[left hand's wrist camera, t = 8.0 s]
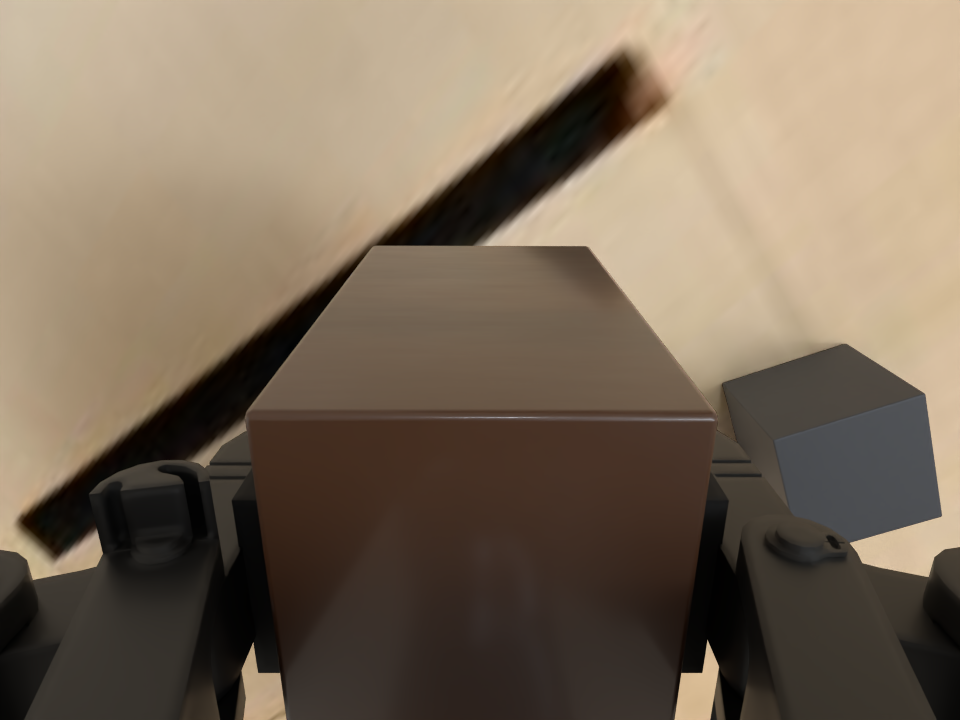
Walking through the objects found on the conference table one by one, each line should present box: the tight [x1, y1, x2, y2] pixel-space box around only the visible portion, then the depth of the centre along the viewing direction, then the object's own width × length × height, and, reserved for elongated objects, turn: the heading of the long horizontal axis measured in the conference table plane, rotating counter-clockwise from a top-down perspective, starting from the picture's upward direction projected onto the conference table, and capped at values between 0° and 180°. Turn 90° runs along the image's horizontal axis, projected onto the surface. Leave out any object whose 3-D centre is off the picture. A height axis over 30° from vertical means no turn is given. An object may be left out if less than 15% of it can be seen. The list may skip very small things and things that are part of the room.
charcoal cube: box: [723, 344, 942, 543], centre depth 25 cm, size 5×5×5 cm
